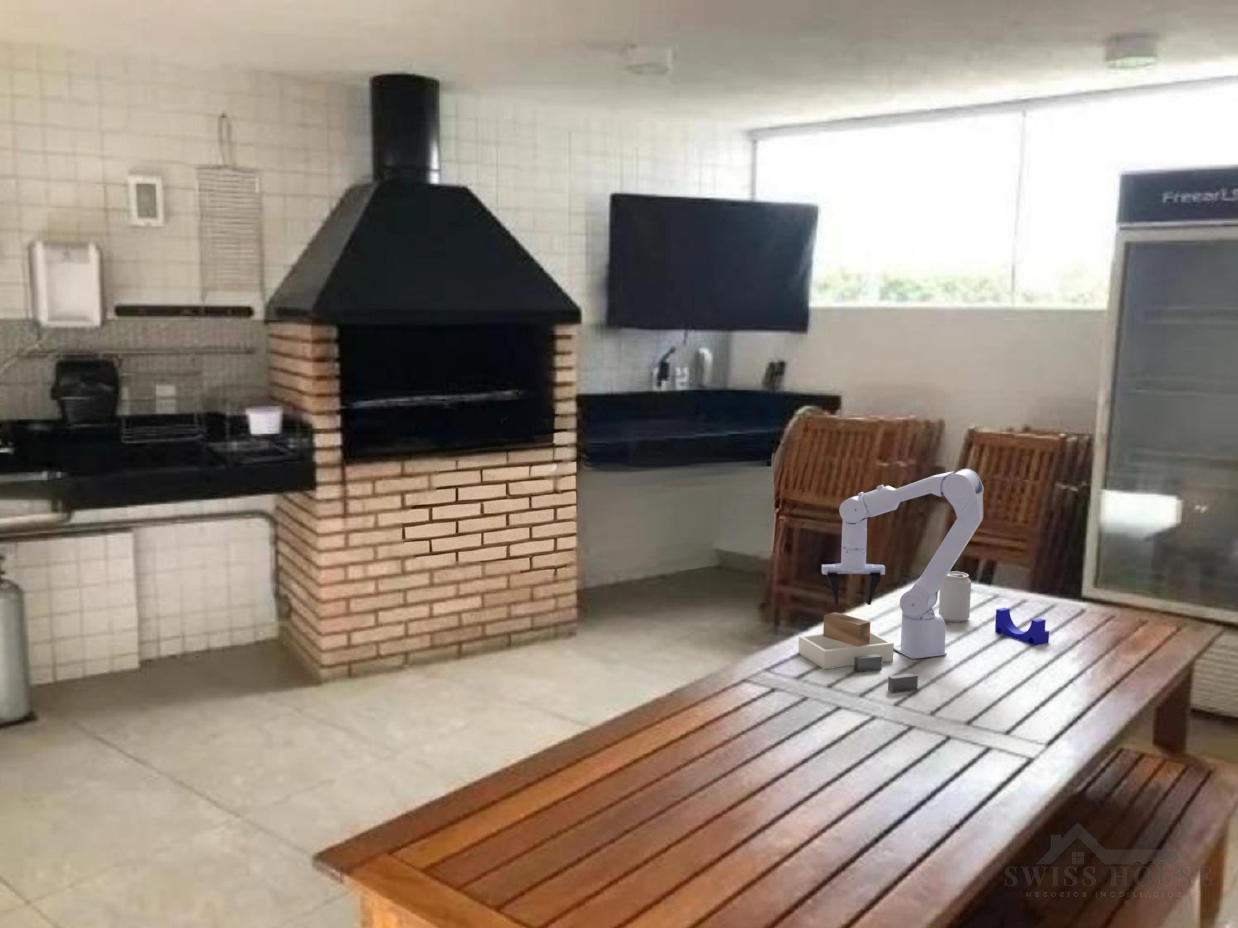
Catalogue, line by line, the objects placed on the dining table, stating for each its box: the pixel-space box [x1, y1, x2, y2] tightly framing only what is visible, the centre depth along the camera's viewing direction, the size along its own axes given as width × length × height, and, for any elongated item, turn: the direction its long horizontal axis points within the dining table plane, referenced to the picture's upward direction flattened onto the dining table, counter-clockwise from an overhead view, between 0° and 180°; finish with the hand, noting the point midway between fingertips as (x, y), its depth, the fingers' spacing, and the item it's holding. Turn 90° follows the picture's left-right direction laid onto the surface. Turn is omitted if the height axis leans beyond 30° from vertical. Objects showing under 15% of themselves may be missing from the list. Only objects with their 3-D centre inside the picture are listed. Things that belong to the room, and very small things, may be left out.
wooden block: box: [822, 611, 871, 647], centre depth 237 cm, size 4×10×5 cm, turn 39°
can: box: [938, 570, 972, 623], centre depth 267 cm, size 8×8×12 cm
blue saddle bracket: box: [994, 607, 1050, 646], centre depth 252 cm, size 12×4×6 cm, turn 29°
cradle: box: [853, 654, 919, 694], centre depth 223 cm, size 6×15×3 cm, turn 19°
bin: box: [798, 630, 895, 670], centre depth 238 cm, size 18×12×4 cm, turn 109°
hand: (852, 603), depth 248 cm, fingers open, 7 cm apart
